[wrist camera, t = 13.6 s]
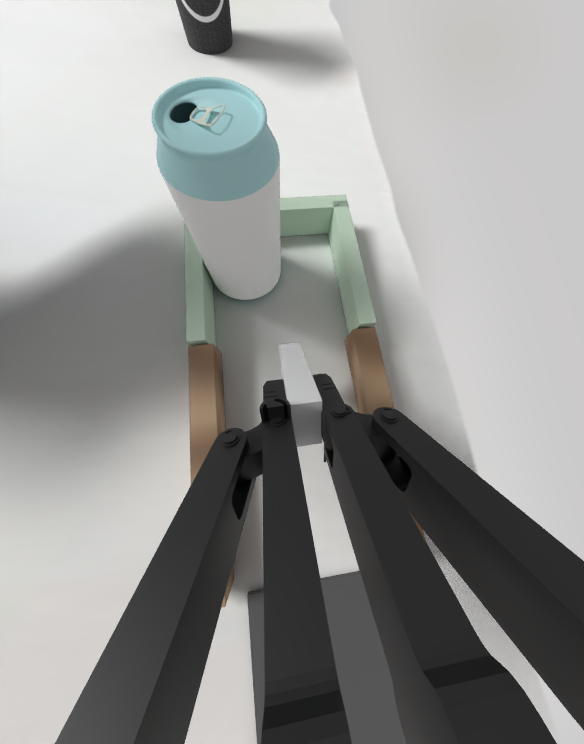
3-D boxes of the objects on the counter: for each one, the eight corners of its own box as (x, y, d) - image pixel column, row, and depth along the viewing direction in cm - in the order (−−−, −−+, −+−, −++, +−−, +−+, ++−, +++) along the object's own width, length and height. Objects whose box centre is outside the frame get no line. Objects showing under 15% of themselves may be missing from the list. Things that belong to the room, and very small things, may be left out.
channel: (410, 546, 17) (431, 567, 15) (206, 584, 16) (193, 612, 13) (364, 338, 21) (374, 327, 19) (199, 355, 20) (188, 346, 18)
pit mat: (410, 743, 14) (412, 749, 14) (260, 780, 14) (260, 788, 13) (377, 567, 17) (378, 570, 16) (248, 592, 16) (247, 595, 16)
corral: (363, 336, 21) (376, 322, 18) (200, 353, 20) (186, 341, 17) (338, 221, 25) (345, 194, 22) (196, 231, 23) (184, 203, 20)
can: (221, 311, 21) (149, 174, 10) (206, 254, 23) (127, 76, 11) (289, 294, 22) (296, 148, 10) (270, 240, 24) (258, 60, 12)
